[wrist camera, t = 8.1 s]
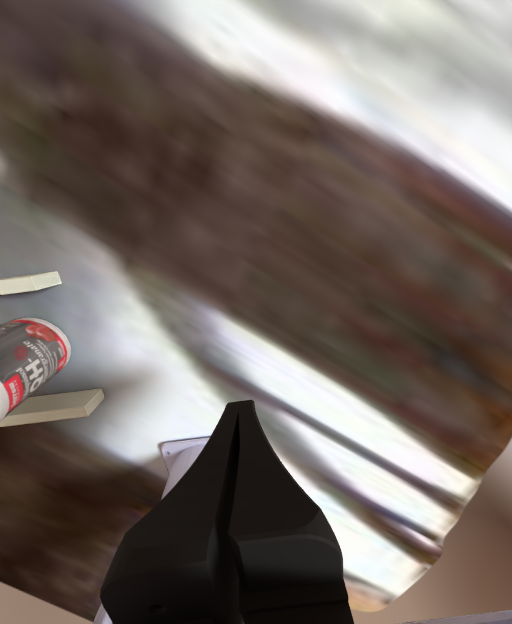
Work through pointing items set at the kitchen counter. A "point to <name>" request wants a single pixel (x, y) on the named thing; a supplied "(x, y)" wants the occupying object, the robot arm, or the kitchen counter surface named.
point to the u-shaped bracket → (55, 403)
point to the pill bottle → (28, 359)
